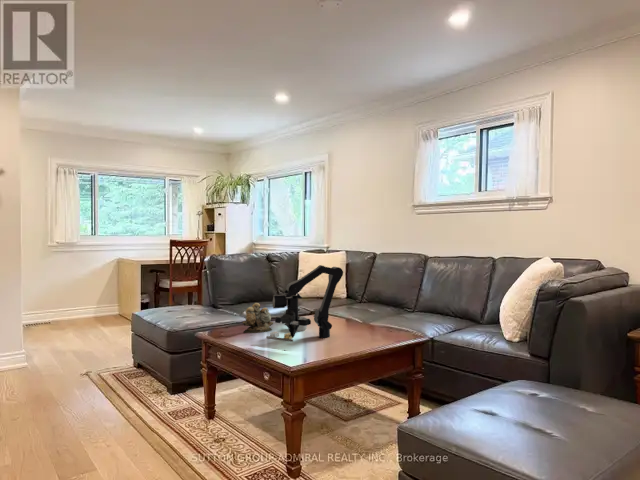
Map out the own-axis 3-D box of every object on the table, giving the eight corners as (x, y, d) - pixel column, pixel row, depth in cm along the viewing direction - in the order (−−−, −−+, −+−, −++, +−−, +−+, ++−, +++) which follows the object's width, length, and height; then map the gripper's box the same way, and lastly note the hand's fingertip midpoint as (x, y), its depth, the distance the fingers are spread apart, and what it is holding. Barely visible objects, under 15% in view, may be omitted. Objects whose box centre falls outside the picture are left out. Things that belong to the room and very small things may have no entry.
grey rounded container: (309, 333, 252) (309, 319, 252) (291, 335, 248) (291, 320, 248) (301, 328, 265) (301, 315, 265) (283, 330, 261) (283, 316, 261)
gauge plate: (277, 335, 246) (277, 331, 246) (306, 339, 237) (306, 335, 237) (262, 341, 234) (262, 336, 234) (292, 345, 225) (292, 340, 225)
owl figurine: (246, 336, 244) (245, 305, 244) (238, 333, 255) (238, 303, 254) (276, 333, 253) (276, 302, 253) (268, 329, 264) (267, 300, 263)
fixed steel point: (274, 335, 241) (274, 331, 241) (279, 336, 239) (279, 332, 239) (268, 338, 236) (268, 333, 236) (272, 338, 234) (272, 334, 234)
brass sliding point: (288, 337, 236) (288, 332, 236) (293, 338, 235) (293, 333, 235) (282, 339, 232) (282, 334, 232) (287, 340, 230) (287, 335, 230)
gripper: (269, 308, 230) (269, 338, 230) (300, 311, 221) (300, 342, 221) (281, 305, 240) (281, 334, 240) (311, 307, 231) (311, 338, 231)
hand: (292, 337), depth 233 cm, fingers closed
